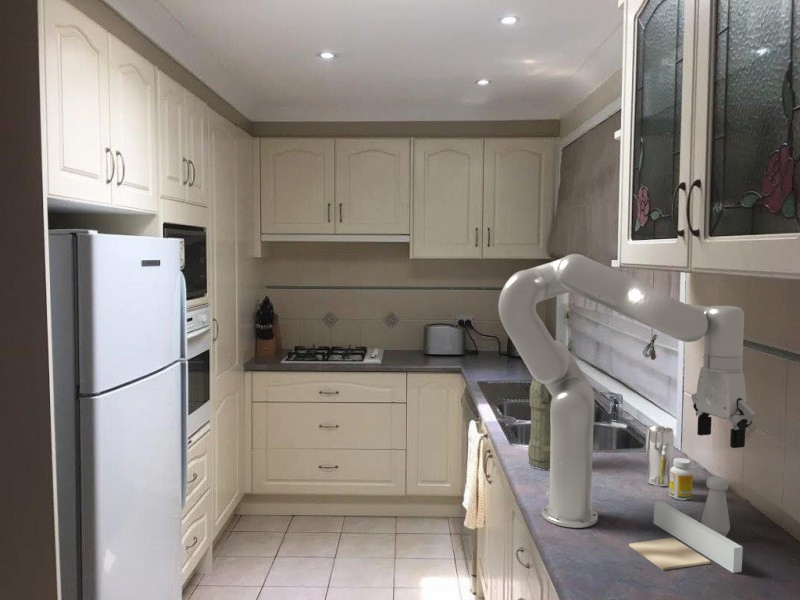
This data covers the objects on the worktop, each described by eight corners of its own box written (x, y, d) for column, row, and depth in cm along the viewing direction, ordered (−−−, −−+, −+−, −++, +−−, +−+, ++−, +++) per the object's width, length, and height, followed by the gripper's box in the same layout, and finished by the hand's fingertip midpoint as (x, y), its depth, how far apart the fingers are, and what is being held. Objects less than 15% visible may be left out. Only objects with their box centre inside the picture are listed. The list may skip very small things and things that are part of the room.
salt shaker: (716, 543, 140) (718, 484, 139) (694, 532, 145) (696, 475, 144) (735, 538, 142) (738, 480, 141) (713, 528, 147) (716, 472, 146)
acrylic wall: (653, 523, 150) (654, 502, 150) (661, 522, 150) (661, 501, 150) (733, 573, 127) (734, 548, 126) (741, 571, 127) (742, 546, 127)
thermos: (531, 472, 184) (533, 349, 182) (525, 458, 196) (528, 343, 193) (562, 472, 184) (565, 349, 181) (555, 459, 195) (558, 343, 193)
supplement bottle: (665, 496, 166) (666, 459, 166) (675, 491, 170) (676, 455, 169) (686, 502, 162) (687, 465, 162) (695, 497, 166) (697, 460, 165)
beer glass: (659, 477, 180) (661, 424, 179) (678, 486, 174) (680, 430, 173) (638, 480, 178) (640, 426, 177) (656, 489, 171) (658, 433, 170)
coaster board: (629, 545, 138) (629, 543, 138) (673, 539, 141) (673, 537, 141) (663, 570, 128) (663, 567, 128) (709, 563, 131) (710, 560, 131)
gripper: (680, 357, 148) (678, 431, 149) (739, 371, 131) (736, 454, 133) (708, 356, 150) (705, 429, 151) (769, 369, 133) (766, 451, 135)
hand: (720, 440), depth 142 cm, fingers open, 9 cm apart
